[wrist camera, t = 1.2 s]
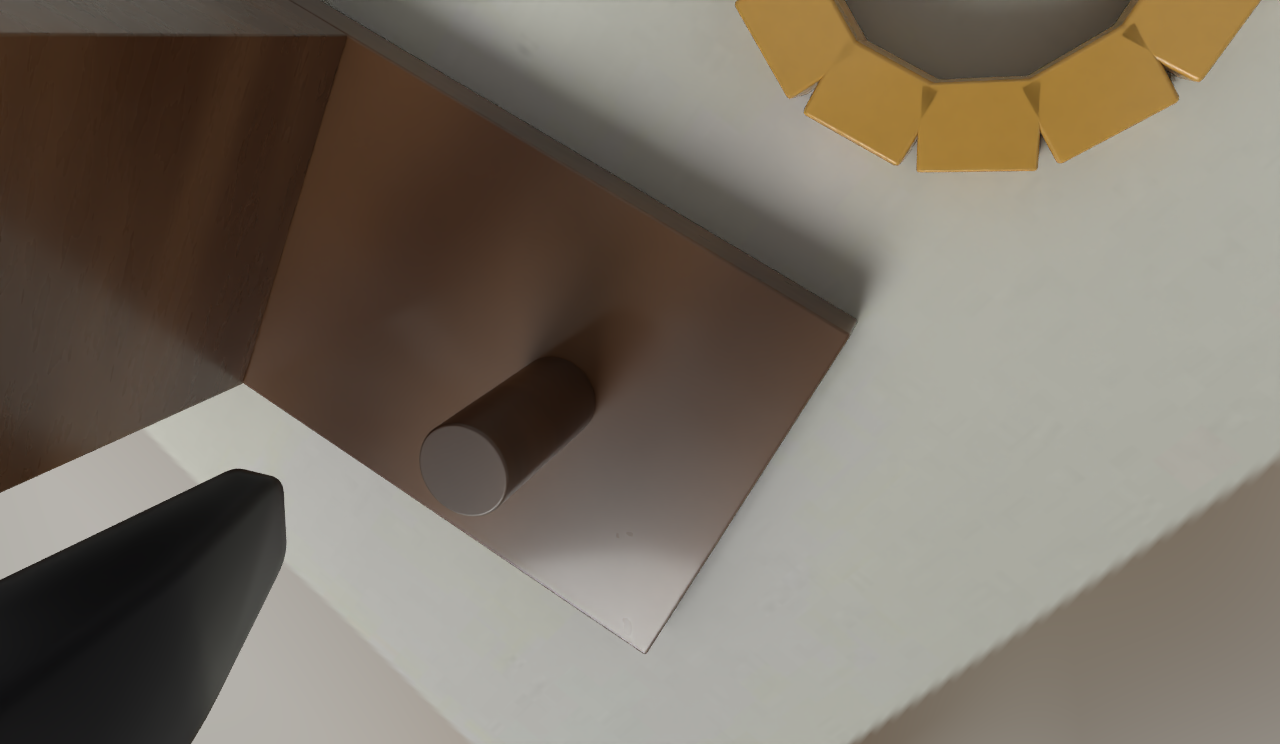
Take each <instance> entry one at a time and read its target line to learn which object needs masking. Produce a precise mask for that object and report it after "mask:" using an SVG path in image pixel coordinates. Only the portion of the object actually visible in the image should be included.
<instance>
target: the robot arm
mask: <svg viewBox="0 0 1280 744" xmlns="http://www.w3.org/2000/svg"><path fill="white" fill-rule="evenodd" d="M285 552H286V527H285V508H284V492H283V486H282V484H281V482H280V481H279V480H278V479H277V478H275V477H273V476H269V475H265V474H261V473H257V472H253V471H249V470H245V469H232V470H229V471H227V472H224V473H222V474H220V475H218V476H216V477H214V478H212V479H210V480H208V481H205V482H203V483H201V484H199V485H197V486H195V487H193V488H191V489H189V490H187V491H185V492H183V493H180V494H178V495H176V496H174V497H172V498H170V499H168V500H166V501H164V502H162V503H160V504H158V505H155V506H153V507H151V508H149V509H147V510H145V511H143V512H141V513H139V514H137V515H135V516H133V517H131V518H128V519H127V520H124V521H122V522H120V523H118V524H116V525H114V526H112V527H110V528H108V529H105V530H104V531H101V532H99V533H97V534H95V535H93V536H91V537H89V538H87V539H85V540H83V541H81V542H78V543H77V544H74V545H72V546H70V547H68V548H66V549H64V550H62V551H60V552H57V553H55V554H54V555H51V556H49V557H47V558H45V559H43V560H41V561H39V562H37V563H35V564H32V565H30V566H28V567H26V568H24V569H22V570H20V571H18V572H16V573H14V574H12V575H10V576H7V577H6V578H4V579H1V580H0V744H191V743H192V741H193V739H194V738H195V736H196V734H197V733H198V731H199V729H200V728H201V726H202V724H203V722H204V721H205V719H206V718H207V715H208V714H209V712H210V710H211V708H212V706H213V704H214V702H215V700H216V699H217V697H218V695H219V692H220V691H221V689H222V687H223V685H224V683H225V680H226V678H227V677H228V675H229V672H230V670H231V668H232V666H233V664H234V662H235V660H236V658H237V656H238V654H239V652H240V650H241V648H242V646H243V644H244V642H245V640H246V638H247V636H248V634H249V632H250V630H251V628H252V626H253V624H254V622H255V620H256V618H257V616H258V614H259V611H260V610H261V608H262V605H263V604H264V602H265V600H266V597H267V595H268V594H269V591H270V589H271V587H272V585H273V583H274V581H275V579H276V577H277V575H278V573H279V571H280V569H281V566H282V563H283V561H284V557H285Z"/></svg>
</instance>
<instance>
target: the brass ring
mask: <svg viewBox="0 0 1280 744" xmlns="http://www.w3.org/2000/svg"><path fill="white" fill-rule="evenodd" d="M1260 1H1261V0H1131V1H1130V2H1129V4H1128V5H1127V7H1126V8H1125V10H1124V11H1123V13H1122V14H1121V16H1120V17H1119V18H1118V20H1117V21H1116V23H1115V24H1114V26H1112V27H1110V28H1109V29H1107V30H1105V31H1103V32H1102V33H1100V34H1098V35H1097V36H1095V37H1093V38H1091V39H1090V40H1088V41H1086V42H1085V43H1083V44H1081V45H1079V46H1078V47H1076V48H1074V49H1073V50H1071V51H1069V52H1067V53H1066V54H1064V55H1062V56H1061V57H1059V58H1057V59H1055V60H1054V61H1052V62H1050V63H1049V64H1047V65H1045V66H1043V67H1042V68H1040V69H1038V70H1037V71H1035V72H1033V73H1031V74H1030V75H1028V76H1005V77H983V78H961V79H937V78H935V77H933V76H932V75H930V74H928V73H926V72H924V71H922V70H921V69H919V68H917V67H915V66H913V65H911V64H910V63H908V62H906V61H904V60H902V59H900V58H899V57H897V56H895V55H893V54H891V53H889V52H888V51H886V50H884V49H882V48H880V47H878V46H877V45H875V44H873V43H871V42H869V41H867V39H866V38H865V36H864V34H863V32H862V30H861V29H860V27H859V25H858V23H857V21H856V20H855V18H854V16H853V14H852V12H851V11H850V9H849V7H848V5H847V3H846V2H845V0H737V1H736V2H735V7H736V9H737V10H738V12H739V14H740V16H741V17H742V19H743V21H744V23H745V24H746V26H747V28H748V30H749V31H750V33H751V35H752V37H753V38H754V40H755V42H756V44H757V45H758V47H759V49H760V51H761V52H762V54H763V56H764V58H765V59H766V61H767V63H768V65H769V67H770V68H771V70H772V72H773V74H774V75H775V77H776V79H777V81H778V82H779V84H780V86H781V88H782V89H783V91H784V93H785V95H786V96H787V97H788V98H789V99H790V98H795V97H798V96H802V95H805V94H808V93H809V92H811V91H812V90H814V89H815V90H814V92H813V94H812V96H811V97H810V99H809V101H808V103H807V105H806V107H805V108H804V114H805V115H806V116H808V117H809V118H811V119H813V120H815V121H816V122H818V123H820V124H822V125H824V126H825V127H827V128H829V129H831V130H832V131H834V132H836V133H838V134H840V135H841V136H843V137H845V138H847V139H848V140H850V141H852V142H854V143H855V144H857V145H859V146H861V147H863V148H864V149H866V150H868V151H870V152H871V153H873V154H875V155H877V156H879V157H880V158H882V159H884V160H886V161H887V162H889V163H891V164H893V165H897V166H898V165H899V164H900V163H901V162H902V161H903V160H904V159H905V158H906V157H907V155H908V154H909V152H910V151H911V149H912V147H913V146H914V144H915V142H916V141H917V169H916V170H917V172H986V171H1035V170H1037V168H1038V157H1039V143H1040V132H1041V134H1042V136H1043V138H1044V140H1045V141H1046V143H1047V145H1048V147H1049V149H1050V151H1051V152H1052V154H1053V156H1054V158H1055V160H1056V161H1057V162H1058V163H1064V162H1065V161H1067V160H1069V159H1071V158H1073V157H1075V156H1077V155H1079V154H1081V153H1082V152H1084V151H1086V150H1088V149H1090V148H1092V147H1094V146H1096V145H1097V144H1099V143H1101V142H1103V141H1105V140H1107V139H1109V138H1111V137H1113V136H1114V135H1116V134H1118V133H1120V132H1122V131H1124V130H1126V129H1128V128H1130V127H1131V126H1133V125H1135V124H1137V123H1139V122H1141V121H1143V120H1145V119H1146V118H1148V117H1150V116H1152V115H1154V114H1156V113H1158V112H1160V111H1162V110H1163V109H1165V108H1167V107H1169V106H1171V105H1173V104H1175V103H1176V102H1177V101H1178V100H1179V95H1178V94H1177V92H1176V90H1175V88H1174V86H1173V84H1172V82H1171V80H1170V78H1169V76H1168V75H1167V73H1166V71H1165V70H1167V71H1168V72H1170V73H1172V74H1174V75H1176V76H1178V77H1180V78H1182V79H1187V80H1191V81H1195V82H1200V81H1201V80H1203V79H1204V77H1205V76H1206V75H1207V73H1208V72H1209V71H1210V69H1211V68H1212V66H1213V65H1214V64H1215V62H1216V61H1217V60H1218V58H1219V57H1220V56H1221V54H1222V53H1223V51H1224V50H1225V49H1226V47H1227V46H1228V45H1229V43H1230V42H1231V41H1232V39H1233V38H1234V37H1235V35H1236V34H1237V32H1238V31H1239V30H1240V28H1241V27H1242V26H1243V24H1244V23H1245V22H1246V20H1247V19H1248V17H1249V16H1250V15H1251V13H1252V12H1253V11H1254V9H1255V8H1256V7H1257V5H1258V4H1259V2H1260ZM917 139H918V140H917Z"/></svg>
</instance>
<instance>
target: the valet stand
mask: <svg viewBox="0 0 1280 744" xmlns="http://www.w3.org/2000/svg"><path fill="white" fill-rule="evenodd" d="M856 324H857V319H855V318H854V317H852V316H850V315H849V314H847V313H845V312H844V311H842V310H840V309H839V308H837V307H835V306H834V305H832V304H830V303H828V302H827V301H825V300H823V299H822V298H820V297H818V296H817V295H815V294H813V293H812V292H810V291H808V290H807V289H805V288H803V287H802V286H800V285H798V284H796V283H795V282H793V281H791V280H790V279H788V278H786V277H785V276H783V275H781V274H780V273H778V272H776V271H775V270H773V269H771V268H770V267H768V266H766V265H764V264H763V263H761V262H759V261H758V260H756V259H754V258H753V257H751V256H749V255H748V254H746V253H744V252H743V251H741V250H739V249H738V248H736V247H734V246H732V245H731V244H729V243H727V242H726V241H724V240H722V239H721V238H719V237H717V236H716V235H714V234H712V233H711V232H709V231H707V230H706V229H704V228H702V227H700V226H699V225H697V224H695V223H694V222H692V221H690V220H689V219H687V218H685V217H684V216H682V215H680V214H679V213H677V212H675V211H674V210H672V209H670V208H668V207H667V206H665V205H663V204H662V203H660V202H658V201H657V200H655V199H653V198H652V197H650V196H648V195H647V194H645V193H643V192H642V191H640V190H638V189H636V188H635V187H633V186H631V185H630V184H628V183H626V182H625V181H623V180H621V179H620V178H618V177H616V176H615V175H613V174H611V173H610V172H608V171H606V170H604V169H603V168H601V167H599V166H598V165H596V164H594V163H593V162H591V161H589V160H588V159H586V158H584V157H583V156H581V155H579V154H578V153H576V152H574V151H572V150H571V149H569V148H567V147H566V146H564V145H562V144H561V143H559V142H557V141H556V140H554V139H552V138H551V137H549V136H547V135H546V134H544V133H542V132H540V131H539V130H537V129H535V128H534V127H532V126H530V125H529V124H527V123H525V122H524V121H522V120H520V119H519V118H517V117H515V116H514V115H512V114H510V113H508V112H507V111H505V110H503V109H502V108H500V107H498V106H497V105H495V104H493V103H492V102H490V101H488V100H487V99H485V98H483V97H482V96H480V95H478V94H476V93H475V92H473V91H471V90H470V89H468V88H466V87H465V86H463V85H461V84H460V83H458V82H456V81H455V80H453V79H451V78H450V77H448V76H446V75H445V74H443V73H441V72H439V71H438V70H436V69H434V68H433V67H431V66H429V65H428V64H426V63H424V62H423V61H421V60H419V59H418V58H416V57H414V56H413V55H411V54H409V53H407V52H406V51H404V50H402V49H401V48H399V47H397V46H396V45H394V44H392V43H391V42H389V41H387V40H386V39H384V38H382V37H381V36H379V35H377V34H375V33H374V32H372V31H370V30H369V29H367V28H365V27H364V26H362V25H360V24H359V23H357V22H355V21H354V20H352V19H350V18H349V17H347V16H345V15H343V14H342V13H340V12H338V11H337V10H335V9H333V8H332V7H330V6H328V5H327V4H325V3H323V2H322V1H320V0H0V493H1V492H3V491H5V490H7V489H10V488H12V487H14V486H16V485H18V484H21V483H23V482H25V481H27V480H30V479H32V478H34V477H36V476H38V475H41V474H43V473H45V472H47V471H50V470H52V469H54V468H56V467H58V466H61V465H63V464H65V463H67V462H69V461H72V460H74V459H76V458H78V457H81V456H83V455H85V454H87V453H90V452H92V451H94V450H96V449H98V448H100V447H102V446H105V445H107V444H109V443H112V442H114V441H116V440H118V439H121V438H123V437H125V436H127V435H129V434H132V433H134V432H136V431H138V430H140V429H143V428H145V427H147V426H149V425H152V424H154V423H156V422H158V421H161V420H163V419H165V418H167V417H169V416H172V415H174V414H176V413H178V412H181V411H183V410H185V409H187V408H189V407H192V406H194V405H196V404H198V403H201V402H203V401H205V400H207V399H209V398H212V397H214V396H216V395H218V394H221V393H223V392H225V391H227V390H229V389H232V388H234V387H236V386H238V385H240V384H242V383H244V384H245V385H247V386H248V387H250V388H251V389H253V390H254V391H256V392H257V393H259V394H260V395H262V396H263V397H265V398H266V399H268V400H269V401H270V402H272V403H273V404H275V405H276V406H278V407H279V408H281V409H282V410H284V411H285V412H287V413H288V414H290V415H291V416H293V417H294V418H296V419H297V420H299V421H300V422H302V423H303V424H305V425H306V426H307V427H309V428H310V429H312V430H313V431H315V432H316V433H318V434H319V435H321V436H322V437H324V438H325V439H327V440H328V441H330V442H331V443H333V444H334V445H336V446H337V447H339V448H340V449H341V450H343V451H344V452H346V453H347V454H349V455H350V456H352V457H353V458H355V459H356V460H358V461H359V462H361V463H362V464H364V465H365V466H367V467H368V468H370V469H371V470H373V471H374V472H376V473H377V474H378V475H380V476H381V477H383V478H384V479H386V480H387V481H389V482H390V483H392V484H393V485H395V486H396V487H398V488H399V489H401V490H402V491H404V492H405V493H407V494H408V495H410V496H411V497H413V498H414V499H415V500H417V501H418V502H420V503H421V504H423V505H424V506H426V507H427V508H429V509H430V510H432V511H433V512H435V513H436V514H438V515H439V516H441V517H442V518H444V519H445V520H447V521H448V522H450V523H451V524H452V525H454V526H455V527H457V528H458V529H460V530H461V531H463V532H464V533H466V534H467V535H469V536H470V537H472V538H473V539H475V540H476V541H478V542H479V543H481V544H482V545H484V546H485V547H487V548H488V549H489V550H491V551H492V552H494V553H495V554H497V555H498V556H500V557H501V558H503V559H504V560H506V561H507V562H509V563H510V564H512V565H513V566H515V567H516V568H518V569H519V570H521V571H522V572H523V573H525V574H526V575H528V576H529V577H531V578H532V579H534V580H535V581H537V582H538V583H540V584H541V585H543V586H544V587H546V588H547V589H549V590H550V591H552V592H553V593H555V594H556V595H558V596H559V597H560V598H562V599H563V600H565V601H566V602H568V603H569V604H571V605H572V606H574V607H575V608H577V609H578V610H580V611H581V612H583V613H584V614H586V615H587V616H589V617H590V618H592V619H593V620H595V621H596V622H597V623H599V624H600V625H602V626H603V627H605V628H606V629H608V630H609V631H611V632H612V633H614V634H615V635H617V636H618V637H620V638H621V639H623V640H624V641H626V642H627V643H629V644H630V645H632V646H633V647H634V648H636V649H637V650H639V651H640V652H642V653H643V654H646V653H647V652H648V651H649V649H650V648H651V646H652V644H653V643H654V641H655V640H656V638H657V637H658V635H659V633H660V632H661V630H662V629H663V627H664V626H665V624H666V623H667V621H668V619H669V618H670V616H671V615H672V613H673V612H674V610H675V609H676V607H677V605H678V604H679V602H680V601H681V599H682V598H683V596H684V594H685V593H686V591H687V590H688V588H689V587H690V585H691V584H692V582H693V580H694V579H695V577H696V576H697V574H698V573H699V571H700V569H701V568H702V566H703V565H704V563H705V562H706V560H707V559H708V557H709V555H710V554H711V552H712V551H713V549H714V548H715V546H716V545H717V543H718V541H719V540H720V538H721V537H722V535H723V534H724V532H725V530H726V529H727V527H728V526H729V524H730V523H731V521H732V520H733V518H734V516H735V515H736V513H737V512H738V510H739V509H740V507H741V505H742V504H743V502H744V501H745V499H746V498H747V496H748V495H749V493H750V491H751V490H752V488H753V487H754V485H755V484H756V482H757V481H758V479H759V477H760V476H761V474H762V473H763V471H764V470H765V468H766V466H767V465H768V463H769V462H770V460H771V459H772V457H773V456H774V454H775V452H776V451H777V449H778V448H779V446H780V445H781V443H782V441H783V440H784V438H785V437H786V435H787V434H788V432H789V431H790V429H791V427H792V426H793V424H794V423H795V421H796V420H797V418H798V417H799V415H800V413H801V412H802V410H803V409H804V407H805V406H806V404H807V402H808V401H809V399H810V398H811V396H812V395H813V393H814V392H815V390H816V388H817V387H818V385H819V384H820V382H821V381H822V379H823V378H824V376H825V374H826V373H827V371H828V370H829V368H830V367H831V365H832V363H833V362H834V360H835V359H836V357H837V356H838V354H839V353H840V351H841V349H842V348H843V346H844V345H845V343H846V342H847V340H848V338H849V337H850V335H851V333H852V331H853V330H854V328H855V326H856Z"/></svg>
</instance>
